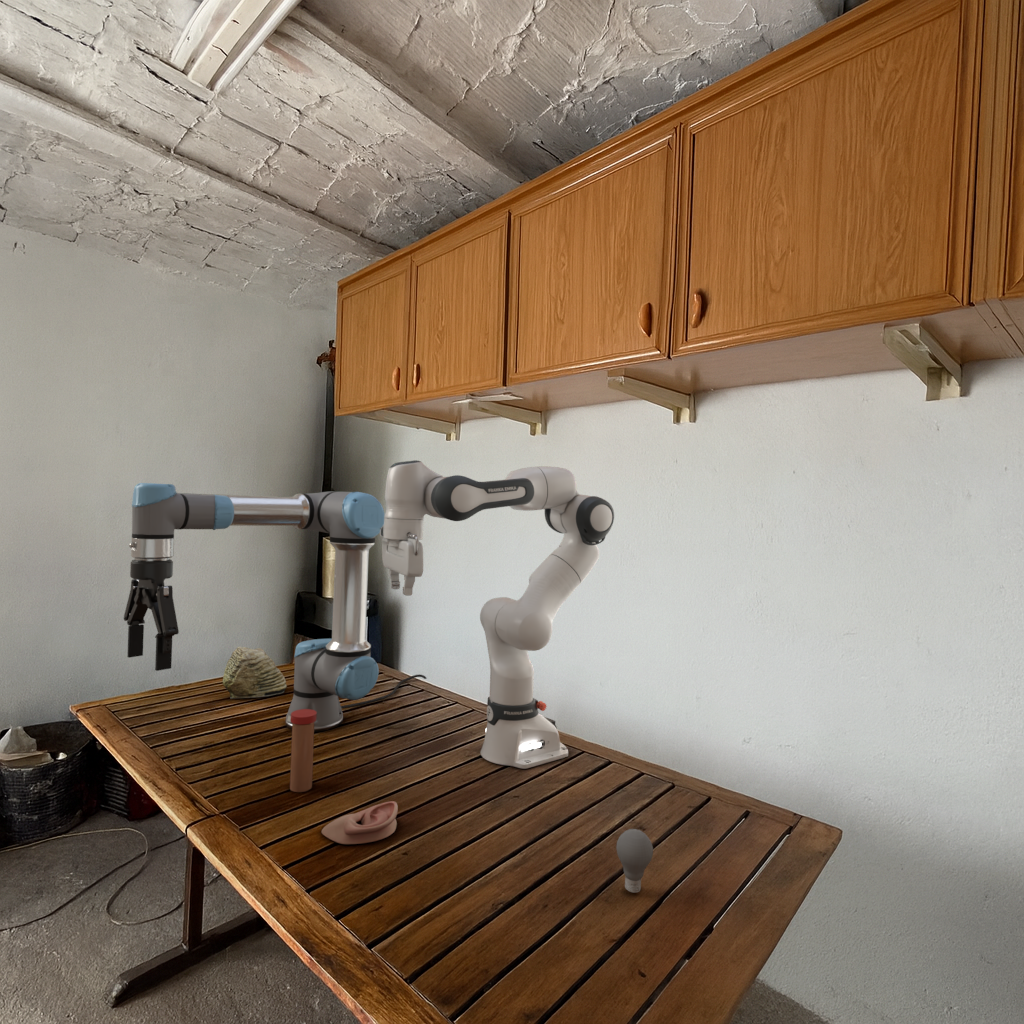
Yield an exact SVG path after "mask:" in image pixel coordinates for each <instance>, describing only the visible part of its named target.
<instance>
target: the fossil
mask: <svg viewBox="0 0 1024 1024" xmlns="http://www.w3.org/2000/svg"><path fill="white" fill-rule="evenodd" d="M222 676H223V677H222V685H223V687H224V688H225V690H226V691H228V693H229V698H230V699H250V698H264V697H271V696H275V695H281V694H284V693H285V691H286V689H287V687H288V686H287V680H286V678H285V676H284V674H283V673H282V672H281V669H279V668H278V667H277V665H276V663H275V662H274V660H273V659H272V658H271V657H270V656H269V655H268V654H267V653H266V652H265V650H264V649H263V648H260V647H258V648H251V647H247V646H246V647H245V646H238V647H237V648H236V649H235V650H233V651H232V653H231V656H230V657H229V659H228V660H227V663H226V666H225V668H224V671H223V675H222Z"/></svg>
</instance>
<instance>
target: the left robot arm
mask: <svg viewBox="0 0 1024 1024" xmlns="http://www.w3.org/2000/svg"><path fill="white" fill-rule="evenodd" d="M384 516H385V511H384V508H383V505H382V503H381V502H380V501H379V500H378V498H377V497H375V495H373V494H370V493H367V492H363V491H362V492H361V491H337V490H336V491H335V490H333V491H332V490H330V491H321V492H311V493H295V494H294V495H293V496H276V495H275V496H274V495H273V496H272V495H248V494H247V495H246V494H244V495H243V494H220V493H219V494H218V493H217V494H216V493H215V494H214V493H189V492H187V493H186V492H177V491H176V486H175V485H174V484H173V483H152V482H139V483H137V484H136V485H135V486H134V488H133V492H132V501H131V520H132V521H131V542H130V543H128V547H129V548H130V549H131V550H130V556H131V558H133V559H132V560H131V561H130V567H129V568H130V571H129V574H130V575H129V576H130V578H131V581H130V590H129V594H128V598H127V603H126V607H125V610H124V615H123V621H124V622H126V624H127V626H128V629H127V630H128V631H127V658H135V657H142V656H144V635H145V634H144V630H145V625H144V624H145V623H146V621H145V619H144V618H145V616H146V615H147V612H148V609H149V610H151V613H152V618H153V620H154V624H155V627H156V631H157V633H156V635H155V636H154V638H155V661H154V663H155V665H154V668H155V669H154V670H155V671H157V672H159V671H164V670H169V669H172V659H173V657H172V655H173V637H175V636H176V635H179V632H180V631H179V625H178V619H177V615H176V614H177V613H176V609H175V603H174V597H173V595H174V593H173V585H165V580H167V579H171V578H172V577H173V575H174V573H173V572H174V561H173V560H172V559H171V558H173V557H174V554H175V553H174V552H175V530H213V531H215V530H224V529H228V528H230V526H233V527H234V526H237V527H238V526H240V527H243V526H246V527H247V526H249V527H250V526H258V527H259V526H268V527H269V526H276V527H277V526H282V527H284V526H285V527H286V526H287V527H288V526H289V527H290V526H291V527H293V528H294V529H296V530H308V531H309V530H310V531H316V532H319V533H325V534H329V544H330V545H331V546H332V547H333V548H334V550H335V551H334V572H333V573H334V577H333V599H332V625H331V626H332V627H331V638H317V639H308V640H304V641H300V642H299V643H297V645H296V646H295V650H294V655H293V657H294V672H293V673H294V674H293V695H292V696H293V697H292V699H291V702H290V704H289V708H288V711H287V713H286V715H285V726H286V728H287V729H289V730H292V723H291V713H292V712H293V711H296V710H301V709H311V710H315V711H316V712H317V716H316V721H315V723H314V733H316V732H325V731H329V730H332V729H335V728H337V727H339V726H340V725H342V723H343V722H344V714H343V709H349V708H353V707H358V706H363V705H367V704H371V703H375V702H379V701H381V700H382V701H383V700H384V699H387V698H390V697H392V696H393V695H394V694H395V693H396V692H397V690H398V688H399V687H400V686H401V685H402V684H403V683H405V682H408V681H410V680H412V679H415V678H423V679H425V680H427V679H428V678H427V677H426V675H423V674H414V675H412V676H409V677H406V678H404V679H402V680H400V681H399V682H398V683H397V685H396V686H395V687H394V688H393V690H392V691H391V692H390V693H388V694H385V695H383V696H380V697H376V698H372V699H369V700H365V701H364V700H363V701H361V702H360V701H359V702H356V703H351V704H344V705H341V702H340V699H339V698H341V699H342V700H343V699H344V700H348V701H349V700H350V701H357V700H360V699H362V698H364V697H365V696H367V695H368V694H370V692H371V690H372V689H374V687H375V685H376V683H377V682H378V678H379V674H380V672H379V671H380V670H379V669H380V668H379V665H378V663H377V662H376V660H375V659H374V657H371V652H372V649H371V648H372V644H371V643H370V642H368V640H367V639H366V631H367V607H368V606H367V605H368V604H367V602H368V582H369V581H368V579H369V555H370V553H369V552H370V550H371V548H372V547H374V545H375V544H376V536H378V535H380V529H381V527H382V526H383V525H384Z"/></svg>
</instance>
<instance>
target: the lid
mask: <svg viewBox="0 0 1024 1024" xmlns="http://www.w3.org/2000/svg"><path fill="white" fill-rule="evenodd" d="M316 716H317V712H316V711H315V710H311V709H301V710H296V711H293V712H292V713H291V723H293V724H298V725H304V724H310V723H313V722H315V721H316Z"/></svg>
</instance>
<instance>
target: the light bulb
mask: <svg viewBox="0 0 1024 1024" xmlns="http://www.w3.org/2000/svg"><path fill="white" fill-rule="evenodd" d="M615 849H616V854H617V857H618V859H619V861H620V863H621V865H622V867H623V873H624V874H623V875H624V876H625V878H624V888H625V890H627V891H628V892H630V893H634V894H635V893H639V892H640V891H641V889H642V887H641V886H642V879H643V877H644V875H645V871H646V868H647V867H648V866H649V864H650V863H651V861H652V859H653V855H654V847H653V843H652V841H651V838H649V836H648V835H647V834H646V833H645V832H643V831H642V830H641V829H636V828H629V829H627V830H625V831H623V832H622V833H621V834H620V835H619V837H618V839H617V841H616V847H615Z"/></svg>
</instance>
